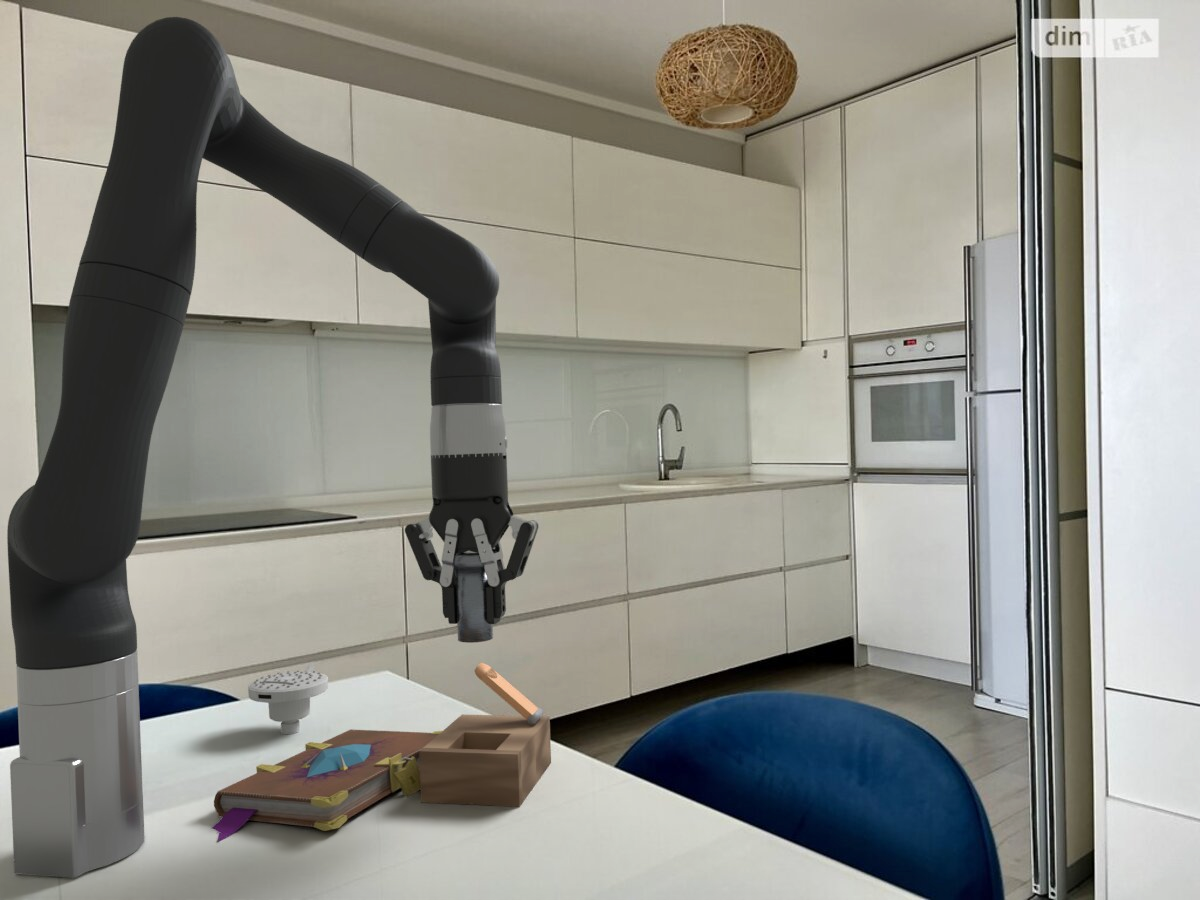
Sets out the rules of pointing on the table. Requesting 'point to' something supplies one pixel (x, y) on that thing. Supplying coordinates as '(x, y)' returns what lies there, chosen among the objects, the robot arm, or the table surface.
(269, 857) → the table surface
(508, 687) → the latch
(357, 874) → the table surface
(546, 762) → the block
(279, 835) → the table surface
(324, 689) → the showerhead
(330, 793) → the book
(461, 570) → the pin
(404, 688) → the table surface
